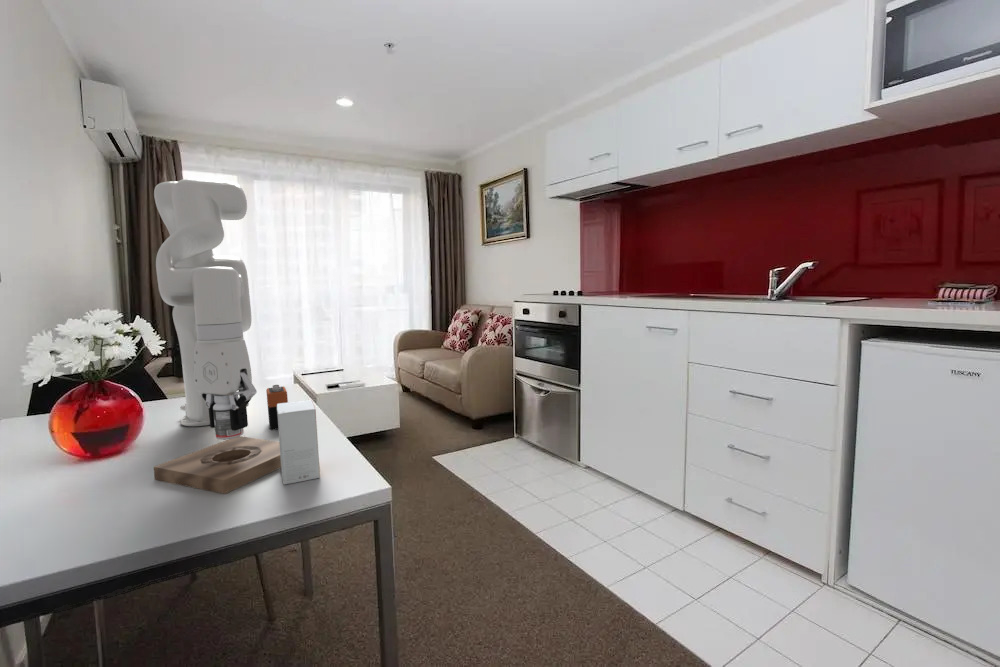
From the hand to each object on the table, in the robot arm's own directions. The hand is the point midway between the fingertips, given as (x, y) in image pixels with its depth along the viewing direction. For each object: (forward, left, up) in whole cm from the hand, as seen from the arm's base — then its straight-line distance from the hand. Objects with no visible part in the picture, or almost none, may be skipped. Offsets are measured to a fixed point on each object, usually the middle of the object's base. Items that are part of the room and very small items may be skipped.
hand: (229, 426), depth 94 cm
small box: (+15, +2, -9) cm, 17 cm away
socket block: (0, 0, -8) cm, 8 cm away
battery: (-13, +24, -9) cm, 29 cm away
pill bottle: (0, 0, -2) cm, 2 cm away
